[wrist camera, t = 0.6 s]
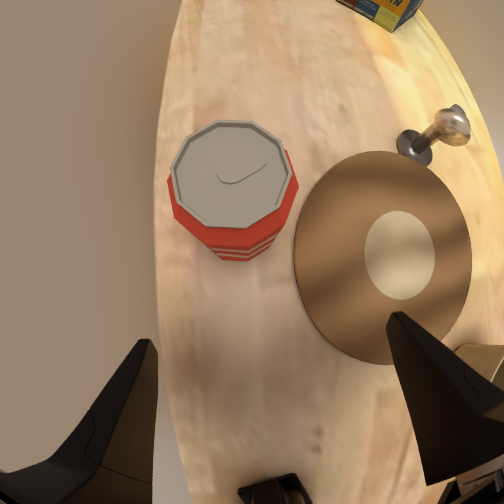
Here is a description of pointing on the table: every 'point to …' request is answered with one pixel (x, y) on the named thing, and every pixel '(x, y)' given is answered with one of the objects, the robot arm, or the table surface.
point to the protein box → (385, 11)
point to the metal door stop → (435, 135)
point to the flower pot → (485, 361)
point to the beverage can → (232, 187)
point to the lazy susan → (381, 252)
